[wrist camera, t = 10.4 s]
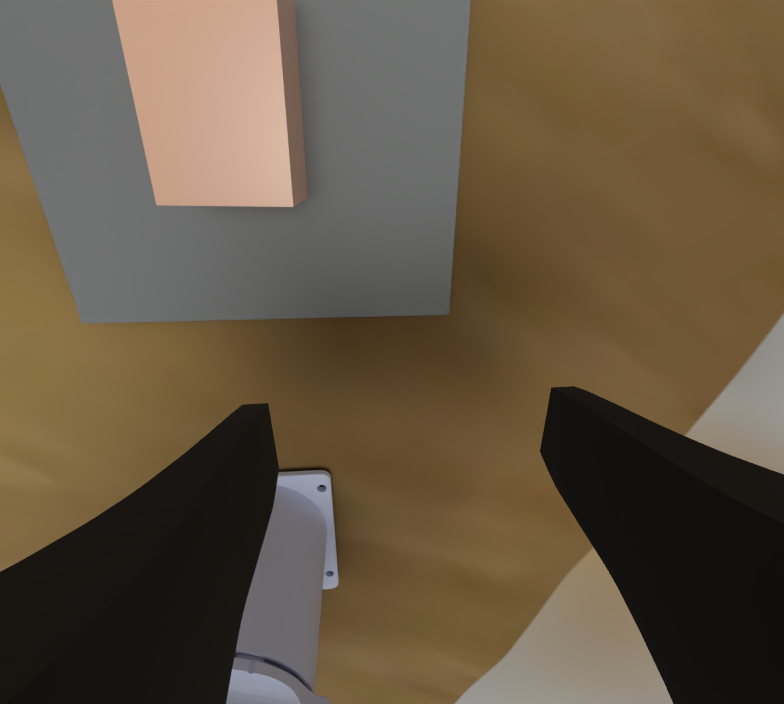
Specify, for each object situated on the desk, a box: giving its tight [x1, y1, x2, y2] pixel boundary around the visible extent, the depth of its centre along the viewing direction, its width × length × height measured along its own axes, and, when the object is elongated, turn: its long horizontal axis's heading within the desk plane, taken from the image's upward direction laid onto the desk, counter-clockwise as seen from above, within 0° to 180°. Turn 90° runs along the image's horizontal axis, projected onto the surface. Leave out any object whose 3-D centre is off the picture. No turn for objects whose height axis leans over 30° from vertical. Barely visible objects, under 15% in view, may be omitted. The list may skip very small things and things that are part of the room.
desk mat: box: [0, 0, 471, 324], centre depth 15 cm, size 16×16×1 cm
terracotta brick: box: [112, 0, 308, 207], centre depth 13 cm, size 6×4×4 cm, turn 179°
